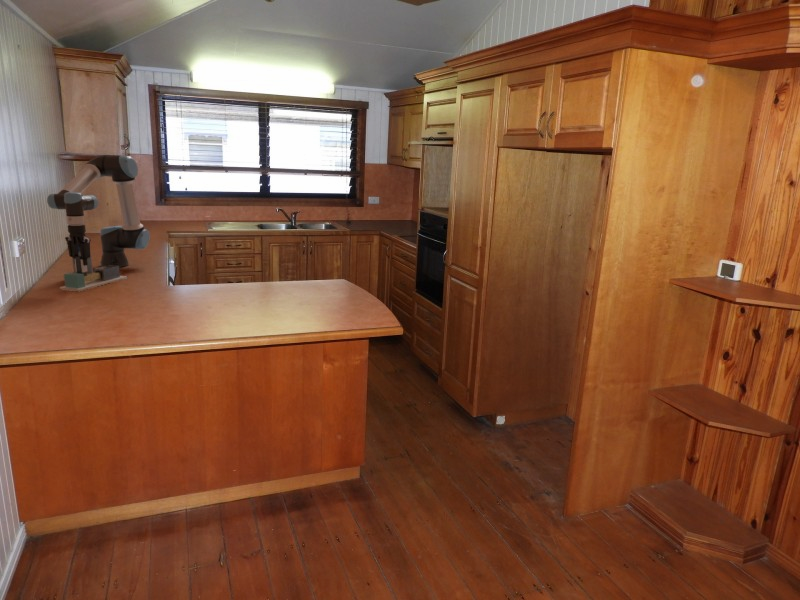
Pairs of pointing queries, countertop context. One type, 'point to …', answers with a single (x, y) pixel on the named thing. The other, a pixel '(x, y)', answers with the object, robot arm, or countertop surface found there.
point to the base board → (94, 284)
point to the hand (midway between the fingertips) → (81, 271)
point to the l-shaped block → (86, 276)
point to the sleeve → (108, 272)
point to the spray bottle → (89, 266)
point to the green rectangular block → (74, 280)
